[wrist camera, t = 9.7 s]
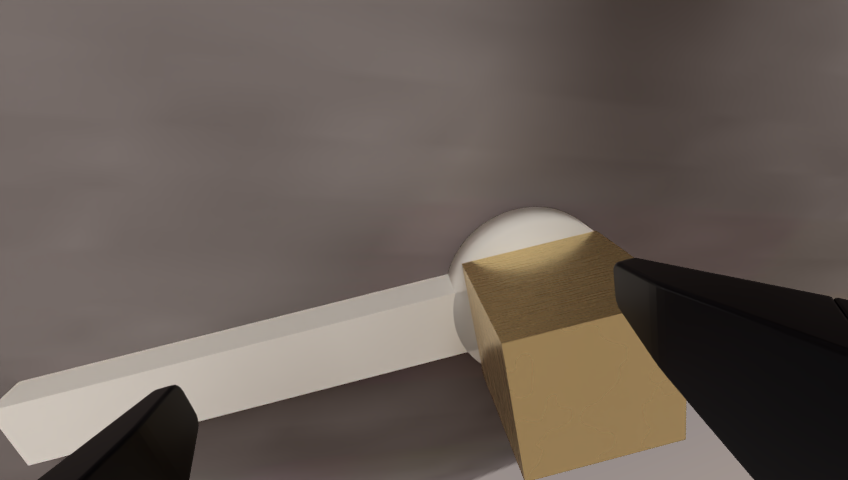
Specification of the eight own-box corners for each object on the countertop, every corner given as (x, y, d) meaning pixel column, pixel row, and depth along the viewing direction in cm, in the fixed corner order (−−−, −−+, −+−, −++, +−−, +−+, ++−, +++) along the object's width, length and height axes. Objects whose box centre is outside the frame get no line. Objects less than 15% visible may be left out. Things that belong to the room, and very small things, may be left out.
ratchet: (597, 188, 21) (672, 228, 16) (606, 330, 24) (671, 401, 19) (-10, 338, 20) (-137, 432, 15) (80, 466, 23) (1, 581, 18)
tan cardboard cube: (596, 230, 20) (688, 296, 14) (603, 344, 22) (685, 439, 16) (461, 263, 19) (501, 343, 14) (483, 374, 22) (525, 482, 16)
